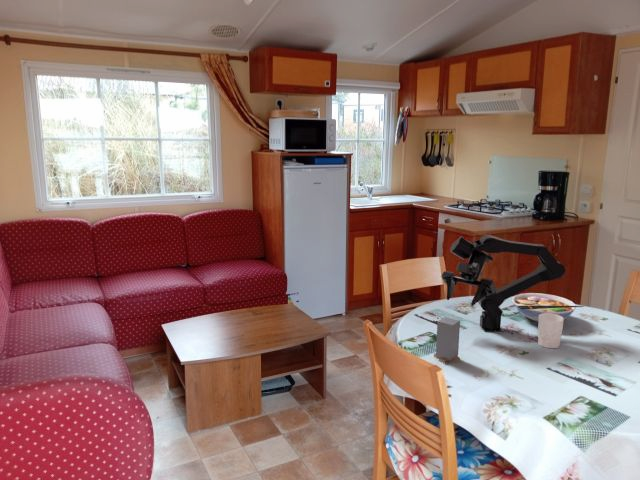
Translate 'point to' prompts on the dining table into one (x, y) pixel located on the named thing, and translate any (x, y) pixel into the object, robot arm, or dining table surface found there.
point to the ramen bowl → (543, 305)
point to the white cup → (550, 330)
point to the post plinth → (447, 360)
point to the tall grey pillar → (447, 338)
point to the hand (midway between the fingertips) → (459, 302)
